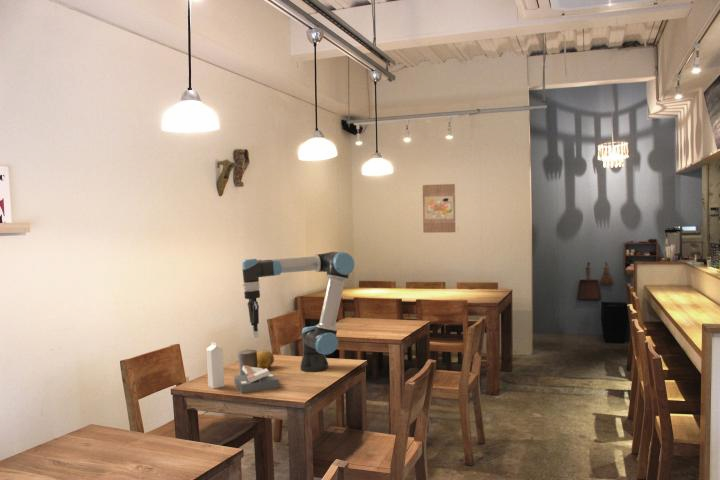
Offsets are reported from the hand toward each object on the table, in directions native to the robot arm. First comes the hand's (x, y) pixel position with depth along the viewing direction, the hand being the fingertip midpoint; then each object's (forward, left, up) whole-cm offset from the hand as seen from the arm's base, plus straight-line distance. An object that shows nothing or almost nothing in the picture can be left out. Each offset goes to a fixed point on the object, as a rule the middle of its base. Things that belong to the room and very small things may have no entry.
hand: (255, 337), depth 297 cm
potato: (-11, -32, -24) cm, 41 cm away
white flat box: (+1, +8, -17) cm, 19 cm away
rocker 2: (+1, +2, -17) cm, 17 cm away
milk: (+19, -8, -24) cm, 32 cm away
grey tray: (+1, +2, -24) cm, 24 cm away
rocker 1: (+1, -4, -17) cm, 18 cm away
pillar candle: (+1, -17, -24) cm, 29 cm away
